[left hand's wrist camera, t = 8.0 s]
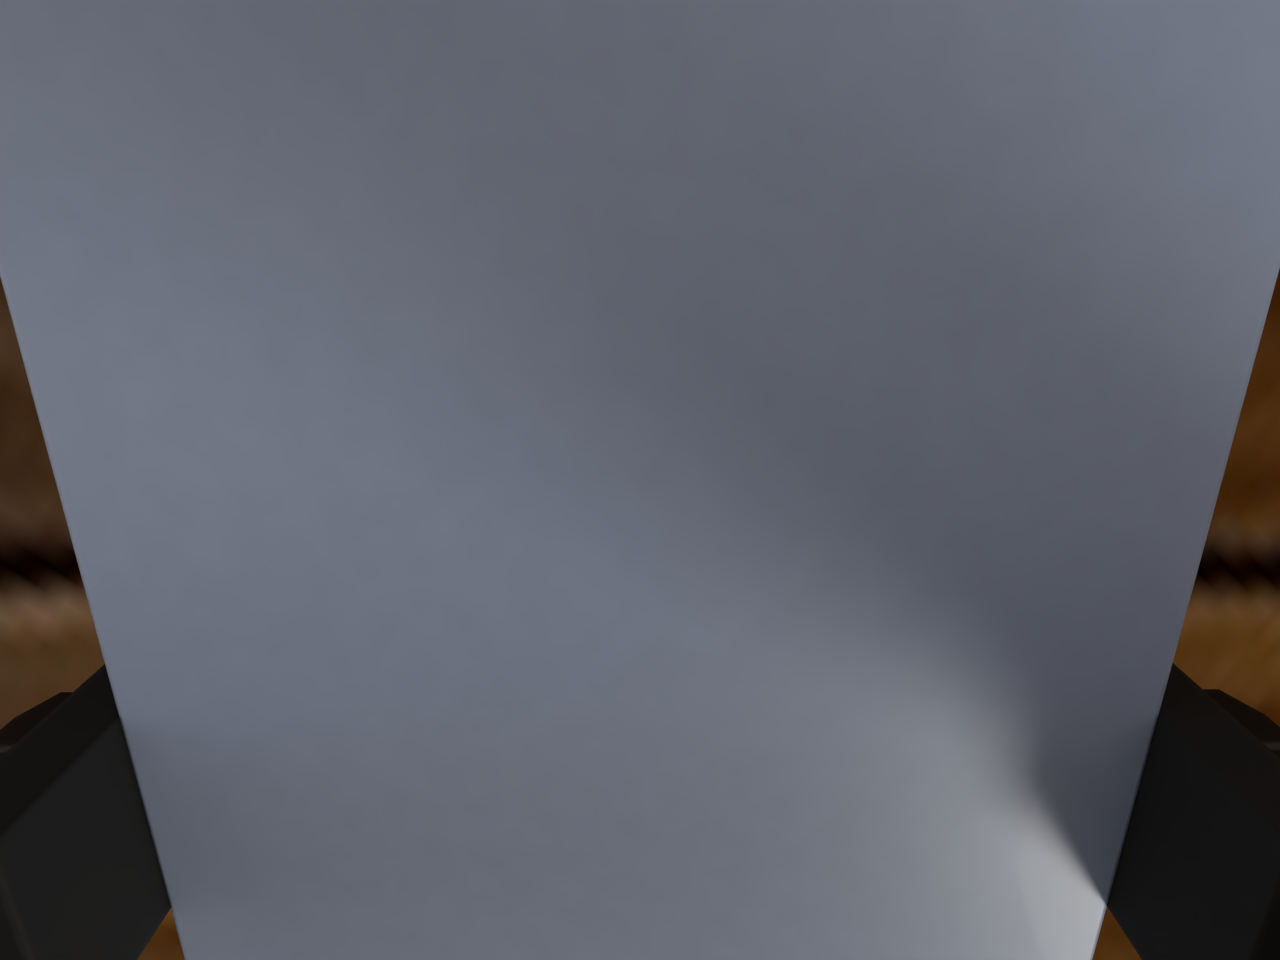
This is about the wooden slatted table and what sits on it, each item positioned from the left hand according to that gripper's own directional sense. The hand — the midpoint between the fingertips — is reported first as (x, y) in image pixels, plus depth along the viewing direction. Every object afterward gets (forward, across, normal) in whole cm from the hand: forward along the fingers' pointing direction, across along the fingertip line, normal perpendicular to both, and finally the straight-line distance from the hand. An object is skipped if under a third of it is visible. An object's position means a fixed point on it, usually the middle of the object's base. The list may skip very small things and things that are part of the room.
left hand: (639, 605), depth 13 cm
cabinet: (+4, 0, -7) cm, 8 cm away
